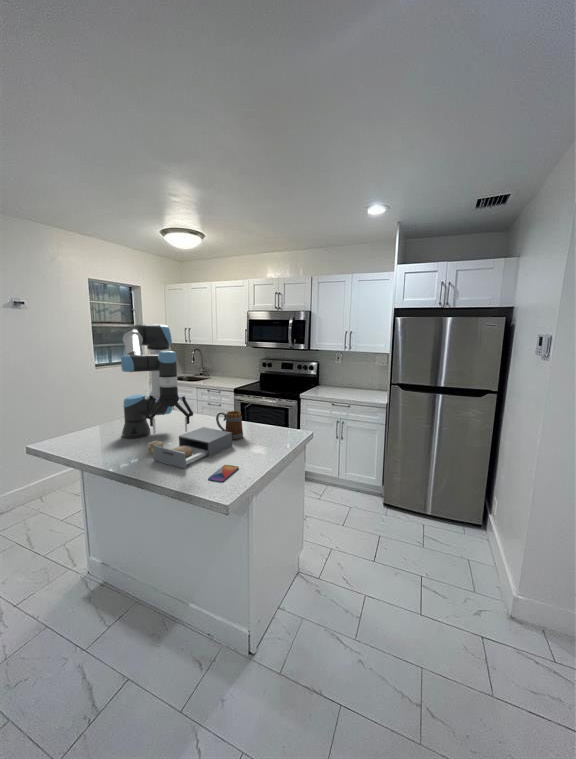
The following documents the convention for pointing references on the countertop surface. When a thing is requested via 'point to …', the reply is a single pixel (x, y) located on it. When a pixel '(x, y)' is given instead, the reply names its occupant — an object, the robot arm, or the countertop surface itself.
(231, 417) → the mug
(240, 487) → the countertop surface
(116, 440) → the countertop surface
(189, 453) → the tan flat lump
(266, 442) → the countertop surface
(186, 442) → the grey drawer box
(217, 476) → the smartphone
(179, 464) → the gray drawer
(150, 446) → the block
